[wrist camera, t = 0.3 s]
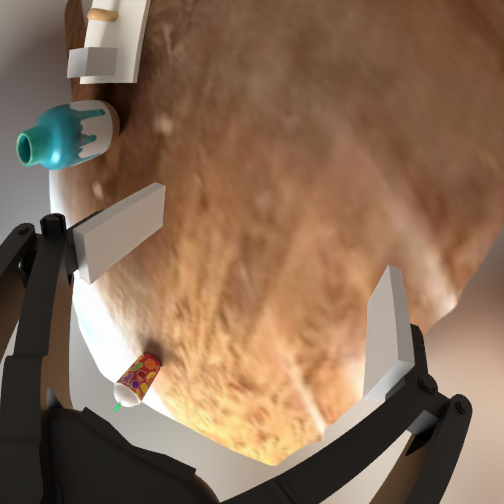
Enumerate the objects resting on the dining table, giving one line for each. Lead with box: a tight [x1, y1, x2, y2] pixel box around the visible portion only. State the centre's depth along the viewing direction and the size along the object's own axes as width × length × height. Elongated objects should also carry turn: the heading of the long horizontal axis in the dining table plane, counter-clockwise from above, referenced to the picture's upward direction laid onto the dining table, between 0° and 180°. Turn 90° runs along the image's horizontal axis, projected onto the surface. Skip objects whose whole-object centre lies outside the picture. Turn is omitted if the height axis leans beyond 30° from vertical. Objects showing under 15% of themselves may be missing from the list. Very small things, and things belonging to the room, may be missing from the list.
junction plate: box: [67, 0, 151, 84], centre depth 34 cm, size 18×14×8 cm
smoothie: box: [114, 353, 160, 412], centre depth 69 cm, size 8×8×20 cm
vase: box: [16, 100, 120, 170], centre depth 38 cm, size 11×11×19 cm
